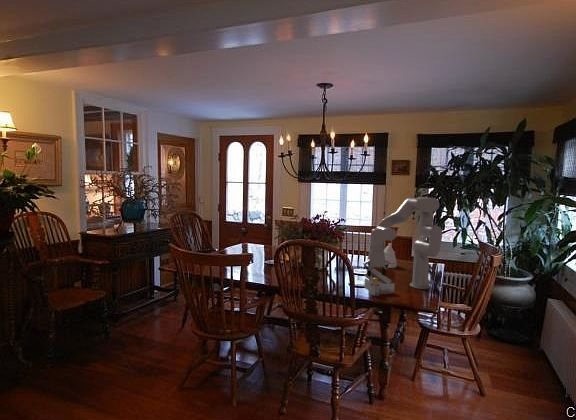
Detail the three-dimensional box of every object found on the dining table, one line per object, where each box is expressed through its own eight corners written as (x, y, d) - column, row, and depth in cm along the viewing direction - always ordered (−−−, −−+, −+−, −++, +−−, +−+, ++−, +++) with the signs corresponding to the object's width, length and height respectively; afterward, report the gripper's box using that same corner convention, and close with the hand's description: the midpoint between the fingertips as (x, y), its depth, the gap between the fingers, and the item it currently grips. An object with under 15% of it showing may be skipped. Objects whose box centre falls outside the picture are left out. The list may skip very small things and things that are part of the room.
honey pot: (381, 263, 310) (383, 241, 308) (397, 265, 304) (398, 243, 303) (378, 266, 299) (379, 244, 297) (394, 268, 293) (395, 246, 291)
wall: (384, 287, 256) (369, 271, 260) (392, 280, 251) (376, 264, 256) (374, 297, 243) (358, 279, 248) (382, 290, 238) (366, 272, 243)
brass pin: (375, 293, 231) (376, 277, 230) (378, 294, 228) (379, 278, 227) (371, 293, 231) (371, 277, 230) (373, 294, 228) (374, 279, 227)
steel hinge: (383, 286, 245) (384, 277, 245) (396, 294, 229) (397, 285, 229) (360, 287, 242) (360, 278, 241) (371, 296, 226) (372, 286, 225)
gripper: (386, 246, 232) (385, 273, 234) (361, 247, 228) (360, 274, 230) (392, 249, 225) (391, 276, 227) (366, 250, 221) (365, 278, 223)
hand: (376, 275), depth 229 cm, fingers open, 9 cm apart
